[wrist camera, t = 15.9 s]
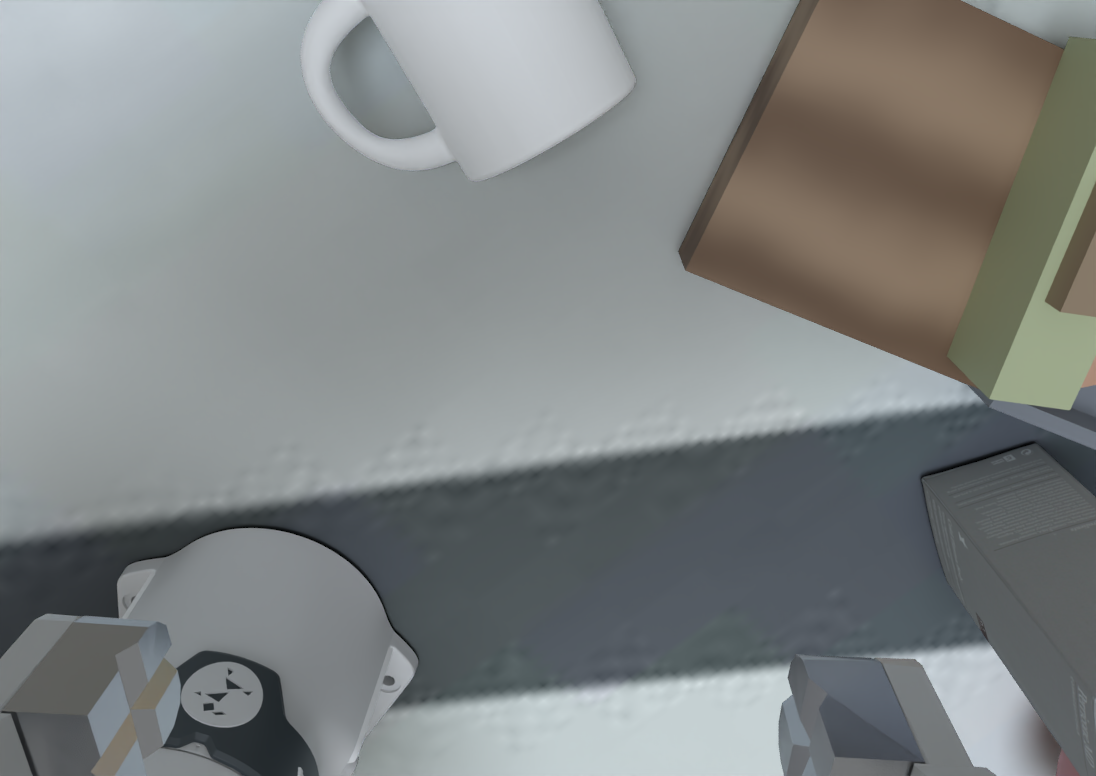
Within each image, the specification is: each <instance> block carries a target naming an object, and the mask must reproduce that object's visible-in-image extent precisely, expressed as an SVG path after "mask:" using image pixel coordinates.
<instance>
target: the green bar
mask: <svg viewBox="0 0 1096 776" xmlns="http://www.w3.org/2000/svg"><path fill="white" fill-rule="evenodd" d="M1095 356H1096V39H1088V38H1078V37H1069V39H1068V42H1067V44H1066V47H1065V49H1064V52H1063V55H1062V57H1061V60H1060V62H1059V65H1058V68H1057V70H1056V73H1055V75H1054V78H1053V81H1052V83H1051V86H1050V88H1049V91H1048V94H1047V96H1046V99H1045V101H1044V104H1043V107H1042V109H1041V112H1040V114H1039V117H1038V120H1037V122H1036V125H1035V127H1034V130H1033V133H1032V135H1031V138H1030V141H1029V143H1028V146H1027V148H1026V151H1025V154H1024V156H1023V159H1022V161H1021V164H1020V167H1019V169H1018V172H1017V174H1016V177H1015V180H1014V182H1013V185H1012V187H1011V190H1010V193H1009V195H1008V198H1007V200H1006V203H1005V206H1004V208H1003V211H1002V213H1001V216H1000V219H999V221H998V224H997V226H996V229H995V232H994V234H993V237H992V239H991V242H990V245H989V247H988V250H987V253H986V255H985V258H984V260H983V263H982V266H981V268H980V271H979V273H978V276H977V279H976V281H975V284H974V286H973V289H972V292H971V294H970V297H969V299H968V302H967V305H966V307H965V310H964V312H963V315H962V318H961V320H960V323H959V325H958V328H957V331H956V333H955V336H954V338H953V341H952V344H951V346H950V349H949V351H948V354H947V357H948V358H949V359H950V360H951V361H952V362H953V363H954V364H955V365H956V366H957V367H958V368H959V369H960V370H961V371H962V372H963V373H964V374H965V375H966V376H967V377H968V378H969V379H970V380H971V381H972V382H973V383H974V384H975V385H976V386H977V387H978V388H979V389H980V390H981V391H982V392H983V393H984V394H985V395H986V396H987V397H988V398H989V399H992V400H999V401H1006V402H1013V403H1021V404H1028V405H1035V406H1042V407H1049V408H1057V409H1064V410H1070V409H1071V407H1072V405H1073V403H1074V401H1075V399H1076V396H1077V394H1078V392H1079V390H1080V388H1081V386H1082V384H1083V382H1084V380H1085V377H1086V375H1087V373H1088V371H1089V369H1090V367H1091V365H1092V363H1093V360H1094V358H1095Z"/></svg>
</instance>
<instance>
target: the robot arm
mask: <svg viewBox="0 0 1096 776" xmlns="http://www.w3.org/2000/svg"><path fill="white" fill-rule="evenodd" d="M117 595H118V610H119V618H107V617H94V616H84V617H81V616H70V615H58V614H45V615H43V616H41V617H39V618H37V619H35V620H34V621H33V622H32V623H31V624H30V625H29V626H28V628H27V629H26V630H25V631H24V632H23V633H22V634H21V636H20V637H19V638H18V639H17V640H16V641H15V642H14V643H13V645H12V646H11V647H10V648H9V649H8V650H7V651H6V653H5V654H4V655H3V656H2V657H1V658H0V776H352V774H353V772H354V770H355V768H356V766H357V763H358V759H359V757H358V755H359V752H360V750H361V747H362V744H363V741H364V740H365V738H366V737H367V736H368V735H369V733H370V732H371V731H372V729H373V728H374V727H375V726H376V724H377V723H378V722H379V721H380V719H381V718H382V717H383V716H384V714H385V713H386V712H387V710H388V709H389V708H390V707H391V705H392V704H393V703H394V702H395V700H396V699H397V698H398V696H399V695H400V694H401V693H402V691H403V690H404V689H405V688H406V686H407V685H408V684H409V683H410V681H411V680H412V678H413V676H414V674H415V672H416V669H417V666H418V658H417V656H416V654H415V653H414V652H413V650H412V649H411V648H410V647H409V646H408V645H407V644H406V643H405V641H404V640H403V639H402V638H401V637H399V636H398V635H397V634H396V633H395V632H394V631H393V629H392V627H391V625H390V623H389V621H388V619H387V616H386V613H385V611H384V608H383V606H382V603H381V601H380V599H379V597H378V595H377V594H376V592H375V590H374V589H373V588H372V586H371V585H370V583H369V582H368V581H367V580H366V578H365V577H364V576H363V575H362V574H361V573H360V572H359V571H358V570H357V569H356V568H355V567H354V566H353V565H351V564H350V563H349V562H348V561H346V560H345V559H344V558H342V557H341V556H340V555H338V554H337V553H335V552H333V551H332V550H330V549H328V548H326V547H325V546H323V545H321V544H319V543H316V542H314V541H312V540H309V539H307V538H304V537H301V536H298V535H295V534H291V533H287V532H283V531H278V530H272V529H262V528H239V529H230V530H225V531H220V532H216V533H213V534H210V535H207V536H204V537H202V538H200V539H198V540H196V541H194V542H192V543H191V544H189V545H187V546H186V547H184V548H183V549H181V550H180V551H178V552H176V553H174V554H172V555H170V556H168V557H164V558H156V559H149V560H144V561H139V562H135V563H132V564H130V565H128V566H127V567H126V568H125V569H124V571H123V573H122V574H121V576H120V578H119V579H118V582H117ZM388 676H391V677H388ZM788 680H789V684H790V687H791V691H792V694H793V695H791V696H790V697H789V698H788V699H787V700H785V701H784V702H783V703H782V707H781V713H780V718H779V752H780V759H781V764H782V769H783V773H784V776H996V775H995V774H994V773H992V772H991V771H990V770H988V769H987V768H983V767H974V766H973V764H972V762H971V760H970V758H969V757H968V755H967V753H966V751H965V749H964V747H963V745H962V743H961V741H960V739H959V737H958V735H957V733H956V731H955V729H954V727H953V725H952V723H951V721H950V719H949V717H948V715H947V713H946V711H945V709H944V707H943V706H942V704H941V702H940V700H939V698H938V696H937V694H936V692H935V690H934V688H933V686H932V684H931V682H930V680H929V678H928V676H927V674H926V672H925V670H924V668H923V666H922V665H921V664H920V663H919V662H917V661H916V660H915V659H893V658H874V659H872V658H860V657H838V656H815V655H795V657H794V659H793V660H792V662H791V665H790V670H789V674H788Z"/></svg>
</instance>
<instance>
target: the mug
mask: <svg viewBox="0 0 1096 776" xmlns="http://www.w3.org/2000/svg"><path fill="white" fill-rule="evenodd" d="M366 17H371V18H372V19H373V21H374V23H375V25H376V26H377V28H378V30H379V31H380V33H381V35H382V36H383V38H384V40H385V41H386V43H387V45H388V46H389V48H390V50H391V51H392V53H393V55H394V56H395V58H396V60H397V61H398V63H399V65H400V66H401V68H402V70H403V71H404V73H405V75H406V76H407V78H408V80H409V81H410V83H411V85H412V86H413V88H414V90H415V91H416V93H417V95H418V96H419V98H420V100H421V101H422V103H423V105H424V106H425V108H426V110H427V111H428V113H429V115H430V117H431V118H432V120H433V122H434V123H435V125H436V127H435V129H434V130H432V131H430V132H427V133H425V134H421V135H418V136H415V137H410V138H404V139H388V138H383V137H380V136H378V135H375V134H373V133H372V132H370V131H369V130H367V129H366V128H365V127H364V126H363V125H362V124H361V123H360V122H359V121H358V120H357V119H356V118H355V117H354V116H353V115H352V114H351V112H350V111H349V110H348V109H347V107H346V106H345V105H344V103H343V102H342V100H341V99H340V97H339V95H338V94H337V92H336V90H335V88H334V85H333V83H332V79H331V74H330V66H331V61H332V58H333V55H334V53H335V51H336V49H337V48H338V46H339V44H340V43H341V42H342V40H343V39H344V38H345V37H346V36H347V34H348V33H349V32H350V31H351V30H352V29H353V28H354V27H355V26H356V25H357V24H359V23H360V22H361V21H362V20H363V19H364V18H366ZM301 69H302V74H303V78H304V82H305V85H306V88H307V91H308V93H309V95H310V97H311V99H312V102H313V103H314V105H315V107H316V109H317V110H318V112H319V113H320V115H321V116H322V117H323V119H324V120H325V121H326V123H327V124H328V125H329V126H330V127H331V128H332V130H333V131H334V132H335V133H336V134H337V135H338V136H339V137H340V138H341V139H342V140H344V141H345V142H346V143H347V144H348V145H350V146H351V147H352V148H353V149H355V150H356V151H358V152H359V153H361V154H362V155H364V156H365V157H367V158H369V159H371V160H373V161H375V162H377V163H379V164H382V165H384V166H387V167H390V168H394V169H398V170H405V171H422V170H428V169H433V168H437V167H440V166H444V165H446V164H449V163H451V162H455V161H456V162H458V163H459V165H460V167H461V168H462V170H463V172H464V173H465V175H466V177H467V178H468V179H469V180H470V181H474V182H478V181H483V180H486V179H489V178H492V177H495V176H497V175H499V174H502V173H504V172H506V171H508V170H510V169H513V168H515V167H517V166H519V165H521V164H522V163H524V162H526V161H528V160H530V159H532V158H534V157H536V156H538V155H539V154H541V153H543V152H545V151H546V150H548V149H550V148H552V147H553V146H555V145H557V144H558V143H560V142H562V141H563V140H565V139H567V138H568V137H570V136H572V135H573V134H575V133H576V132H578V131H580V130H581V129H583V128H584V127H586V126H587V125H589V124H590V123H592V122H593V121H595V120H596V119H598V118H599V117H601V116H602V115H603V114H605V113H606V112H608V111H609V110H610V109H612V108H613V107H614V106H615V105H617V104H618V103H619V102H620V101H622V100H623V99H624V98H625V97H626V96H627V95H628V94H629V93H630V92H631V91H632V90H633V88H634V87H635V84H636V77H635V75H634V73H633V71H632V69H631V67H630V65H629V63H628V61H627V59H626V57H625V55H624V52H623V50H622V48H621V46H620V44H619V42H618V40H617V38H616V36H615V34H614V32H613V30H612V28H611V26H610V24H609V22H608V20H607V18H606V16H605V14H604V12H603V9H602V7H601V5H600V3H599V1H598V0H323V1H322V2H321V3H320V4H319V6H318V7H317V8H316V10H315V11H314V13H313V14H312V16H311V18H310V20H309V22H308V24H307V26H306V29H305V32H304V35H303V39H302V44H301Z"/></svg>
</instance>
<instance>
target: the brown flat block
mask: <svg viewBox="0 0 1096 776" xmlns="http://www.w3.org/2000/svg"><path fill="white" fill-rule="evenodd" d="M1063 52H1064V49H1062V48H1060V47H1058V46H1056V45H1054V44H1052V43H1049V42H1047V41H1045V40H1043V39H1041V38H1039V37H1037V36H1035V35H1033V34H1030V33H1028V32H1026V31H1024V30H1022V29H1020V28H1018V27H1016V26H1014V25H1011V24H1009V23H1007V22H1005V21H1003V20H1001V19H999V18H997V17H995V16H992V15H990V14H988V13H986V12H984V11H982V10H980V9H978V8H976V7H974V6H971V5H969V4H967V3H965V2H963V1H961V0H800V2H799V4H798V6H797V8H796V10H795V12H794V14H793V16H792V19H791V21H790V23H789V25H788V27H787V29H786V31H785V33H784V35H783V37H782V39H781V41H780V43H779V45H778V47H777V49H776V51H775V54H774V56H773V58H772V60H771V62H770V64H769V66H768V68H767V70H766V72H765V74H764V76H763V78H762V80H761V82H760V84H759V87H758V89H757V91H756V93H755V95H754V97H753V99H752V101H751V103H750V105H749V107H748V109H747V111H746V113H745V115H744V117H743V119H742V122H741V124H740V126H739V128H738V130H737V132H736V134H735V136H734V138H733V140H732V142H731V144H730V146H729V148H728V150H727V152H726V154H725V157H724V159H723V161H722V163H721V165H720V167H719V169H718V171H717V173H716V175H715V177H714V179H713V181H712V183H711V185H710V187H709V190H708V192H707V194H706V196H705V198H704V200H703V202H702V204H701V206H700V208H699V210H698V212H697V214H696V216H695V218H694V220H693V222H692V225H691V227H690V229H689V231H688V233H687V235H686V237H685V239H684V241H683V243H682V245H681V247H680V249H679V251H678V252H679V254H680V257H681V260H682V263H683V265H684V268H685V271H688V272H690V273H693V274H695V275H698V276H700V277H703V278H705V279H708V280H710V281H713V282H715V283H718V284H720V285H723V286H725V287H727V288H730V289H732V290H735V291H737V292H740V293H742V294H745V295H747V296H750V297H752V298H755V299H757V300H760V301H762V302H765V303H767V304H770V305H772V306H775V307H777V308H779V309H782V310H784V311H787V312H789V313H792V314H794V315H797V316H799V317H802V318H804V319H807V320H809V321H812V322H814V323H817V324H819V325H822V326H824V327H827V328H829V329H831V330H834V331H836V332H839V333H841V334H844V335H846V336H849V337H851V338H854V339H856V340H859V341H861V342H864V343H866V344H869V345H871V346H874V347H876V348H878V349H881V350H883V351H886V352H888V353H891V354H893V355H896V356H898V357H901V358H903V359H906V360H908V361H911V362H913V363H916V364H918V365H921V366H923V367H926V368H928V369H930V370H933V371H935V372H938V373H940V374H943V375H945V376H948V377H950V378H953V379H955V380H958V381H960V382H963V383H965V384H968V385H970V386H973V387H975V388H977V389H979V388H978V387H977V386H976V385H975V384H974V383H973V382H972V381H971V380H970V379H969V378H968V377H967V376H966V375H965V374H964V373H963V372H962V371H961V370H960V369H959V368H958V367H957V366H956V365H955V364H954V363H953V362H952V361H951V360H950V359H949V358H948V357H947V354H948V351H949V349H950V346H951V344H952V341H953V338H954V336H955V333H956V331H957V328H958V325H959V323H960V320H961V318H962V315H963V312H964V310H965V307H966V305H967V302H968V299H969V297H970V294H971V292H972V289H973V286H974V284H975V281H976V279H977V276H978V273H979V271H980V268H981V266H982V263H983V260H984V258H985V255H986V253H987V250H988V247H989V245H990V242H991V239H992V237H993V234H994V232H995V229H996V226H997V224H998V221H999V219H1000V216H1001V213H1002V211H1003V208H1004V206H1005V203H1006V200H1007V198H1008V195H1009V193H1010V190H1011V187H1012V185H1013V182H1014V180H1015V177H1016V174H1017V172H1018V169H1019V167H1020V164H1021V161H1022V159H1023V156H1024V154H1025V151H1026V148H1027V146H1028V143H1029V141H1030V138H1031V135H1032V133H1033V130H1034V127H1035V125H1036V122H1037V120H1038V117H1039V114H1040V112H1041V109H1042V107H1043V104H1044V101H1045V99H1046V96H1047V94H1048V91H1049V88H1050V86H1051V83H1052V81H1053V78H1054V75H1055V73H1056V70H1057V68H1058V65H1059V62H1060V60H1061V57H1062V55H1063Z"/></svg>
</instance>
